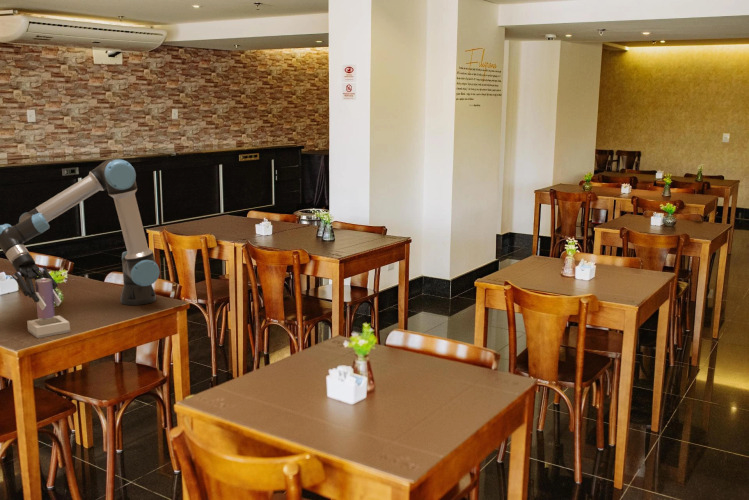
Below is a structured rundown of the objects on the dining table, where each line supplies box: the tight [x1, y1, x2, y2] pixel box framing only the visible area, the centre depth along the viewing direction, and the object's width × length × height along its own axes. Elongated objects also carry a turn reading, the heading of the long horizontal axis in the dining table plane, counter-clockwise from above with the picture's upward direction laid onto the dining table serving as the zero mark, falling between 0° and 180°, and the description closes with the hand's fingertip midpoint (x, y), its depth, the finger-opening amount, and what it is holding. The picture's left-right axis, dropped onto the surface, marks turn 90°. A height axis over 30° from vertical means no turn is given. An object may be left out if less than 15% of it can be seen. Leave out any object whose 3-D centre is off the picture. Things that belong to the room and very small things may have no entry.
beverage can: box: [34, 278, 56, 320], centre depth 281 cm, size 6×6×15 cm
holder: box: [26, 315, 71, 339], centre depth 283 cm, size 12×12×4 cm
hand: (51, 305), depth 280 cm, fingers closed on beverage can, 6 cm apart
